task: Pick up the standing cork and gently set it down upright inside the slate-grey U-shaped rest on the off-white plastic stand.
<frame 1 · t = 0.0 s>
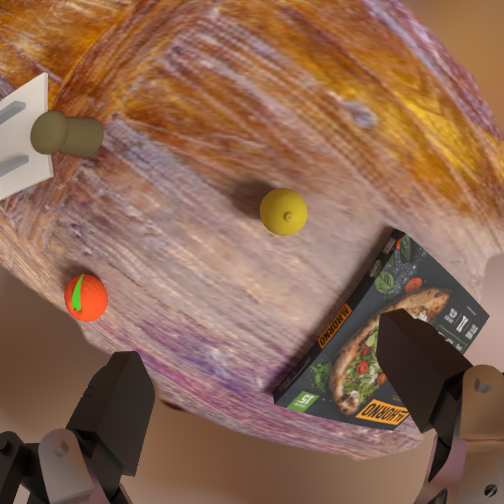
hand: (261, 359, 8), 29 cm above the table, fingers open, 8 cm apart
lemon: (278, 206, 37), on the table
clementine: (96, 285, 38), on the table
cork: (86, 137, 32), on the table
U-rest: (12, 141, 30), on the table
pizza box: (395, 350, 46), on the table
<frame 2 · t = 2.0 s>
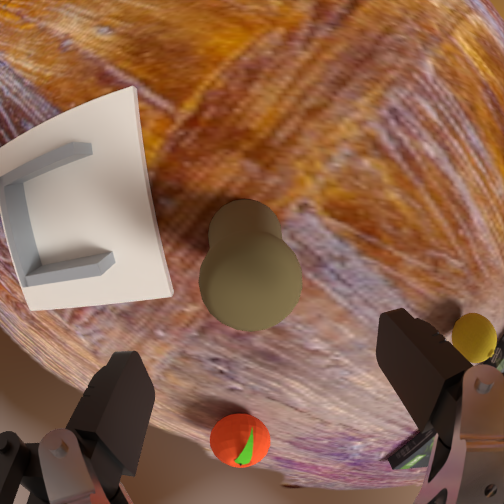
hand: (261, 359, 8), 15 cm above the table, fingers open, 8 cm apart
lemon: (455, 321, 28), on the table
clementine: (240, 415, 30), on the table
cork: (244, 235, 23), on the table
U-rest: (65, 212, 21), on the table
pizza box: (479, 405, 38), on the table
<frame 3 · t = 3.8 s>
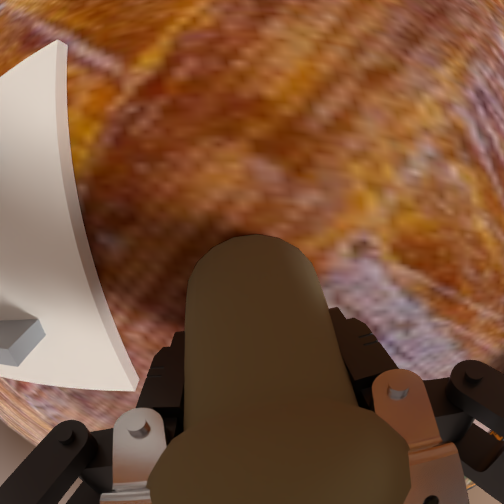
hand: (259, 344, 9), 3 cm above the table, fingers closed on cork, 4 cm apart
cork: (253, 299, 12), on the table, touching gripper
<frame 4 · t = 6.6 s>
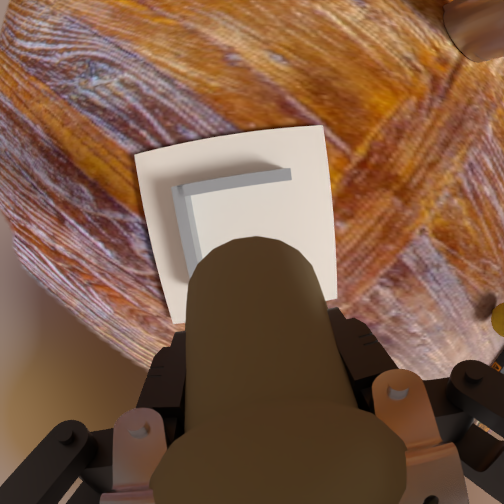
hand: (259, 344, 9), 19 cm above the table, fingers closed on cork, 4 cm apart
lemon: (492, 309, 34), on the table
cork: (253, 300, 13), point 16 cm above the table, touching gripper
U-rest: (241, 227, 27), on the table
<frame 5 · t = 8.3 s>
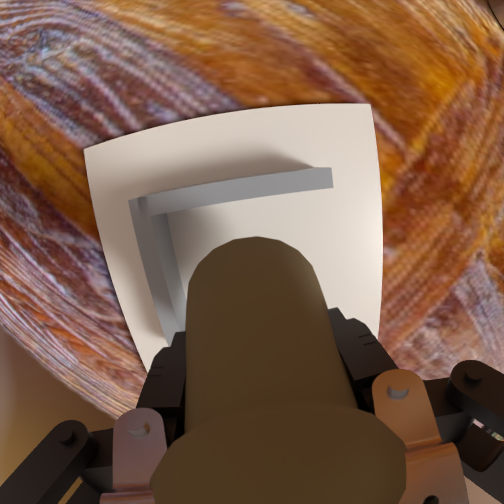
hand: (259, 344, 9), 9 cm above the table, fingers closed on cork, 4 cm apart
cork: (254, 300, 13), point 6 cm above the table, touching gripper
U-rest: (246, 258, 18), on the table
when the fingers open (5 cm above the table, at t = 9.5 s): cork stays where it is, resting on U-rest.
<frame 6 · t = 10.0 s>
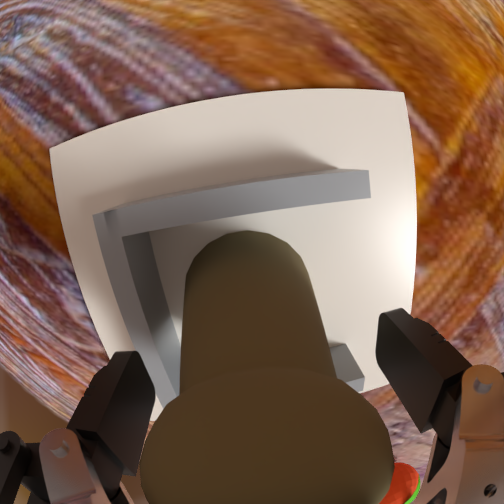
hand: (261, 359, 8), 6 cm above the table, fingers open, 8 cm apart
clementine: (384, 464, 23), on the table
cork: (247, 291, 13), point 1 cm above the table, touching U-rest
U-rest: (251, 283, 14), on the table
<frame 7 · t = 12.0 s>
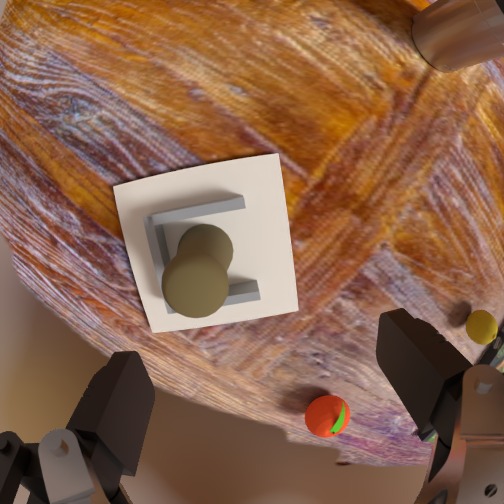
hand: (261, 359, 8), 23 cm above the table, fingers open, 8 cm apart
lemon: (467, 316, 38), on the table
clementine: (322, 398, 39), on the table
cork: (205, 251, 30), point 1 cm above the table, touching U-rest
U-rest: (208, 248, 31), on the table
pizza box: (485, 386, 47), on the table
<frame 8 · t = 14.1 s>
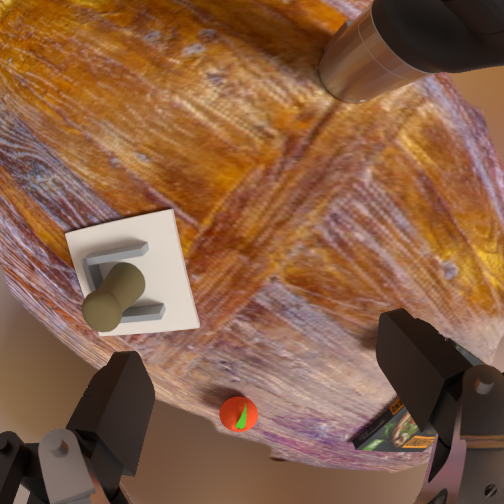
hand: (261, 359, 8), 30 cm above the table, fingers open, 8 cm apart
clementine: (238, 398, 47), on the table
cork: (127, 281, 38), point 1 cm above the table, touching U-rest
U-rest: (130, 278, 39), on the table
pizza box: (432, 403, 55), on the table
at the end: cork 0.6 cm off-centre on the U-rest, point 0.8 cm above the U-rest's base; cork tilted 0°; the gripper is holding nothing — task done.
